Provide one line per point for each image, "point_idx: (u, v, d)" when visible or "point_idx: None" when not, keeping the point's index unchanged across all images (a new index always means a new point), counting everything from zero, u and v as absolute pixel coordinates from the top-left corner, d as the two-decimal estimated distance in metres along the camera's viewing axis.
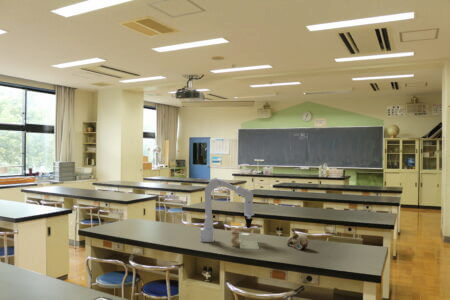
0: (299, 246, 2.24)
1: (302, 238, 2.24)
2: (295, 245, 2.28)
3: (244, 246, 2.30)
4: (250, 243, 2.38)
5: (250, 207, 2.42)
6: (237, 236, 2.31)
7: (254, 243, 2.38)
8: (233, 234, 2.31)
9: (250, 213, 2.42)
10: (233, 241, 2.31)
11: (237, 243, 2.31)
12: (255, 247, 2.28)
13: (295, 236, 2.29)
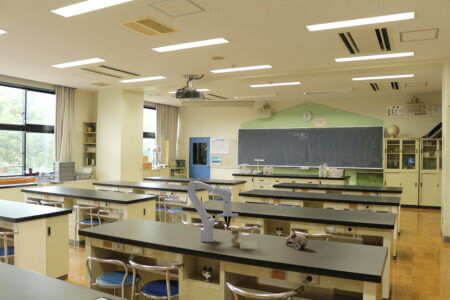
0: (297, 246, 2.25)
1: (300, 238, 2.24)
2: (293, 245, 2.29)
3: (244, 246, 2.30)
4: (250, 243, 2.38)
5: (227, 207, 2.38)
6: (237, 236, 2.31)
7: (254, 243, 2.38)
8: (233, 234, 2.31)
9: (223, 213, 2.40)
10: (233, 241, 2.31)
11: (237, 243, 2.31)
12: (255, 247, 2.28)
13: (293, 236, 2.30)
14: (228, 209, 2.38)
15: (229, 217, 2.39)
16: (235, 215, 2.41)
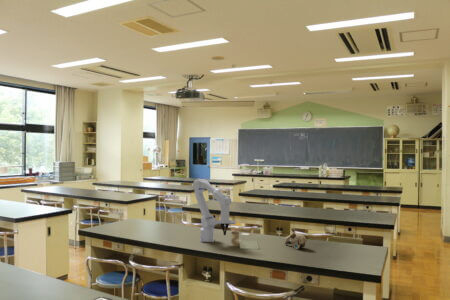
0: (297, 245, 2.25)
1: (300, 238, 2.25)
2: (293, 244, 2.29)
3: (244, 246, 2.30)
4: (250, 243, 2.38)
5: (223, 214, 2.33)
6: (237, 236, 2.31)
7: (254, 243, 2.38)
8: (233, 234, 2.31)
9: (221, 220, 2.34)
10: (233, 241, 2.31)
11: (237, 243, 2.31)
12: (255, 247, 2.28)
13: (293, 236, 2.30)
14: (226, 216, 2.33)
15: (226, 224, 2.34)
16: (233, 223, 2.35)
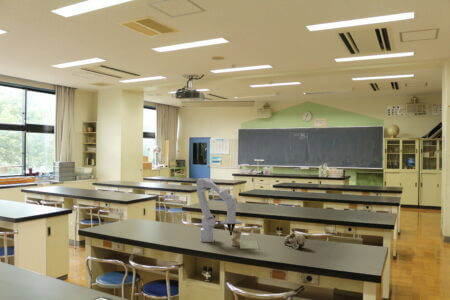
0: (296, 245, 2.26)
1: (299, 237, 2.25)
2: (292, 244, 2.30)
3: (244, 246, 2.30)
4: (250, 243, 2.38)
5: (230, 214, 2.33)
6: (238, 236, 2.31)
7: (254, 243, 2.38)
8: (235, 233, 2.31)
9: (227, 220, 2.34)
10: (234, 241, 2.31)
11: (237, 243, 2.31)
12: (255, 247, 2.28)
13: (292, 235, 2.31)
14: (232, 216, 2.33)
15: (233, 225, 2.34)
16: (239, 223, 2.35)
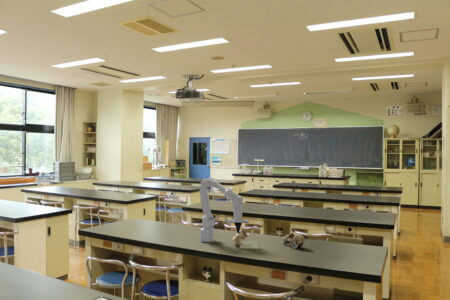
0: (295, 245, 2.26)
1: (298, 237, 2.26)
2: (291, 244, 2.30)
3: (244, 246, 2.30)
4: (250, 243, 2.38)
5: (238, 213, 2.33)
6: (243, 237, 2.31)
7: (254, 243, 2.38)
8: (242, 233, 2.31)
9: (234, 219, 2.34)
10: (237, 238, 2.31)
11: (238, 242, 2.31)
12: (255, 247, 2.28)
13: (291, 235, 2.31)
14: (239, 215, 2.33)
15: (240, 223, 2.34)
16: None
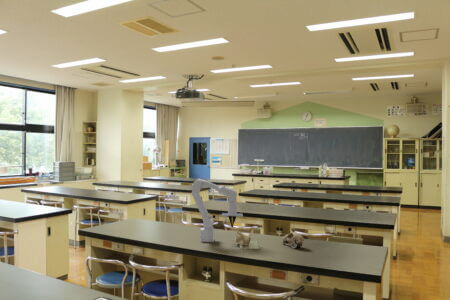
0: (294, 245, 2.27)
1: (297, 237, 2.26)
2: (290, 244, 2.31)
3: (244, 246, 2.30)
4: (250, 243, 2.38)
5: (233, 207, 2.40)
6: (245, 243, 2.31)
7: (254, 243, 2.38)
8: (248, 239, 2.31)
9: (228, 212, 2.42)
10: (241, 238, 2.31)
11: (238, 241, 2.31)
12: (255, 247, 2.28)
13: (290, 235, 2.32)
14: (233, 209, 2.40)
15: (234, 217, 2.41)
16: (240, 215, 2.43)
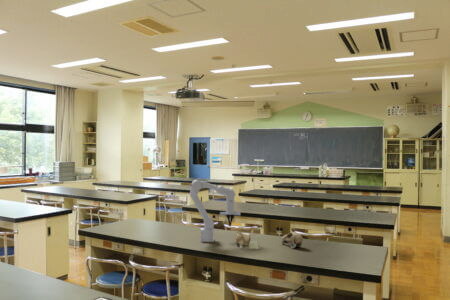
0: (293, 245, 2.27)
1: (296, 237, 2.27)
2: (289, 244, 2.31)
3: (244, 246, 2.30)
4: (250, 243, 2.38)
5: (232, 206, 2.45)
6: (245, 243, 2.31)
7: (254, 243, 2.38)
8: (248, 239, 2.31)
9: (226, 211, 2.46)
10: (241, 238, 2.31)
11: (238, 241, 2.31)
12: (255, 247, 2.28)
13: (289, 235, 2.32)
14: (231, 208, 2.45)
15: (232, 215, 2.46)
16: (237, 214, 2.47)
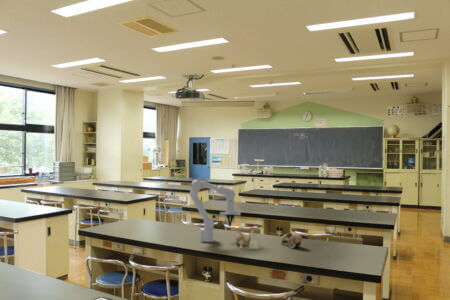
0: (292, 244, 2.28)
1: (295, 237, 2.27)
2: (289, 244, 2.32)
3: (244, 246, 2.30)
4: (250, 243, 2.38)
5: (232, 206, 2.45)
6: (245, 243, 2.31)
7: (254, 243, 2.38)
8: (248, 239, 2.31)
9: (226, 211, 2.46)
10: (241, 238, 2.31)
11: (238, 241, 2.31)
12: (255, 247, 2.28)
13: (289, 235, 2.33)
14: (231, 208, 2.45)
15: (232, 215, 2.46)
16: (237, 214, 2.47)
